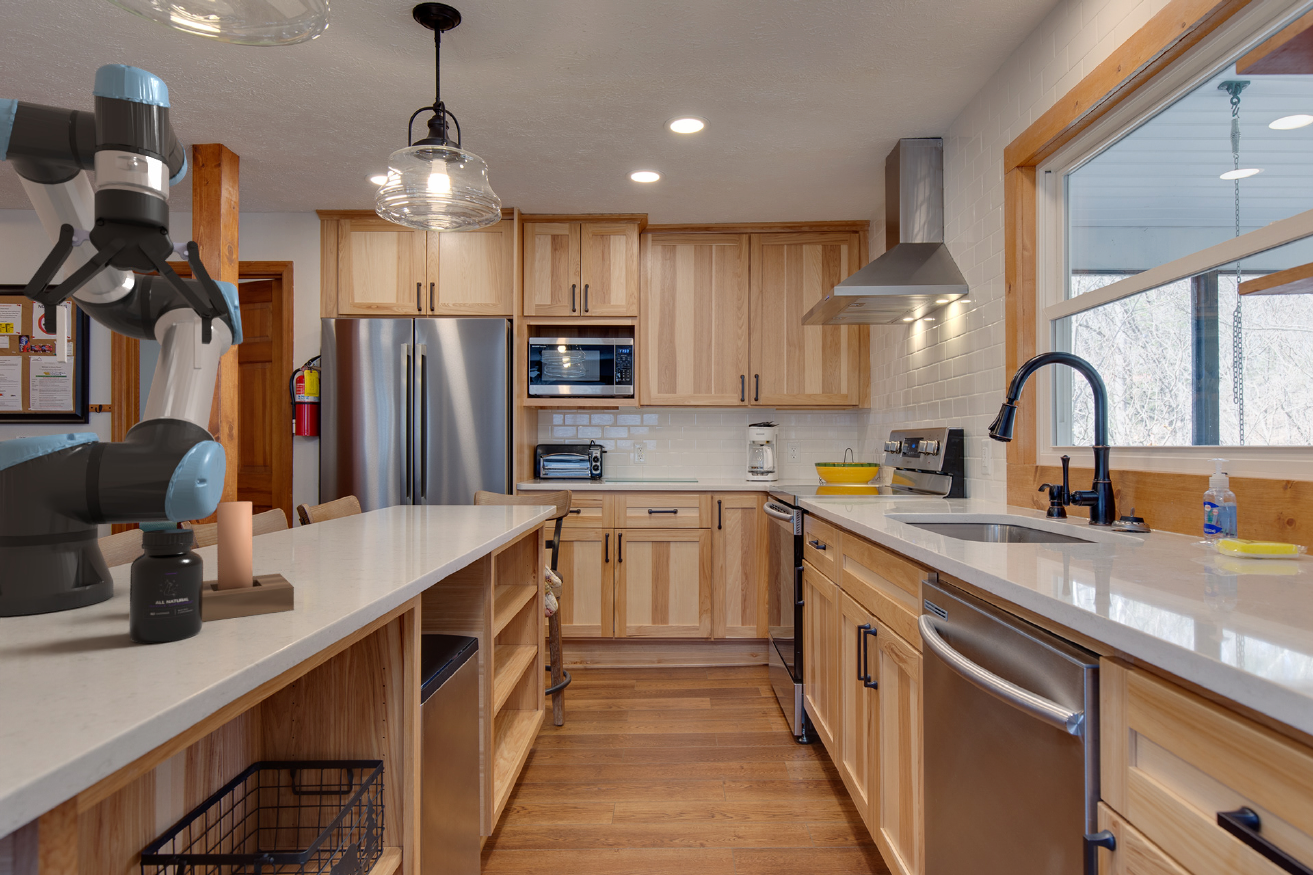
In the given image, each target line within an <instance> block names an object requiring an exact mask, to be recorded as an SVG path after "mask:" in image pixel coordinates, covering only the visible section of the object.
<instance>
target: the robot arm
mask: <svg viewBox="0 0 1313 875" xmlns="http://www.w3.org/2000/svg"><path fill="white" fill-rule="evenodd" d="M93 86H94V87H93V91H92V96H93V102H94V103H93V105H94V106H93V107H94V110H93V111H87V110H82V109H81V110H78V109H72V108H65V107H59V106H53V105H49V104H48V105H47V104H43V103H36V102H32V101H23V100H19V99H17V98H14V99H12V98H1V97H0V161H2V162H6V161H8V162H10V164H11V166H12V167H13V170H15V172H16V174H17V176H18V178H19V181H20V182H21V185H22V187H23V190H24V191H25V192H26V195H27V196H28V198H29V200H30V203H31V204H32V206H33V208H34V210H35V213H36V214H37V216H38V218H39V220H40V222H41V224H42V227H43V229H44V230H45V232H46V234H47V236H48V238H49V240H50V242H51V244H52V247H53V248H52V249H51V251H50V252H49V254H48V255H47V257H46V258H45V259H44V260H43V262H42V264H41V265H40V267H38V269H37V271H36V272H35V273H34V275H33V276H32V277H31V279H30V280H29V282H28V283H27V285H26V286H25V287H24V289H23V295H24V296H25V297H26V299H27V300H29V301H32V302H35V303H39V304H40V305H42V306H43V310H44V312H43V313H44V314H43V317H44V318H43V319H44V320H43V321H44V325H43V329H44V330H45V333H46V334H47V335H56V362H57V363H58V364H68V310H67V307H66V306H63V305H62V304H63V303H64V302H66V301H67V300H69V298H71V299H72V301H73V302H74V303H75V304H76V305H77V306H78V307H79V308H80V309H81V310H82V311H83V312H84V313H85V314H86V315H87V316H89V317H90V318H91V319H93V320H94V321H95V322H97V323H98V324H100V325H102V326H103V327H105V329H106V328H107V329H108V330H110V331H112V332H115V333H117V334H119V335H121V336H125V337H127V338H131V339H136V340H142V341H157V343H158V344H159V345H160V350H159V353H158V356H157V360H156V365H155V370H154V373H153V377H152V381H151V385H150V388H149V389H150V390H149V393H148V397H147V401H146V405H145V408H144V413H143V417H142V421H138V422H137V423H135V424H134V425H133V426H131V427H130V428H129V429H128V431H127V432H126V434H125V437H124V441H109V442H106V441H105V442H103V441H101V440H100V437H99V436H98V434H97V433H96V432H94V431H91V432H90V431H89V432H88V431H85V432H72V433H59V434H48V435H38V436H29V437H20V438H19V437H18V438H11V439H5V440H1V441H0V617H1V616H2V617H5V616H21V615H31V614H32V615H33V614H40V613H41V614H42V613H50V612H56V611H63V610H69V609H75V608H80V607H86V606H89V605H93V604H94V605H95V604H97V603H100V602H103V601H106V600H109V599H111V598H112V597H114V578H113V577H112V574H111V572H110V570H109V569H110V568H109V567H108V565H107V562H106V559H105V558H104V555H103V552H102V550H101V548H100V545H99V539H98V538H99V535H98V534H99V525H113V524H114V525H115V524H116V525H117V524H136V523H137V524H138V523H139V524H141V523H157V522H158V523H160V522H161V523H165V522H172V523H179V522H182V523H183V522H185V521H186V522H187V521H193V520H194V521H195V520H202V519H206V518H208V517H210V516H211V515H213V513H214V512H215V511H217V503H221V502H220V501H221V499H222V495H223V491H224V487H225V486H224V485H225V477H226V472H227V470H226V469H227V456H226V450H225V447H224V446H223V445H222V444H221V443H220V442H218V441H216V440H215V438H214V435H213V434H212V433H211V432H210V431H208V430H209V425H210V424H209V423H210V417H211V410H212V405H213V399H214V394H215V388H216V387H215V386H216V380H217V375H218V369H219V368H218V367H219V362H220V358H221V357H222V356H224V355H225V354H227V353H228V352H229V351H230V349H231V346H235V345H241V344H242V343H243V342H244V339H243V338H244V336H243V329H242V319H241V310H240V301H239V292H238V291H239V290H238V288H237V286H236V285H235V284H234V283H232V282H229V281H222V280H216V279H214V278H211V276H210V275H209V273H208V270H207V269H206V267H205V265H204V263H203V262H202V260H201V258H200V250H199V245H198V243H197V241H194V240H189V241H187V242H173V241H172V239H171V236H170V206H169V204H168V202H167V201H168V200H169V198H170V187H173V186H176V185H177V184H179V183H180V182H181V181H183V179H184V177H185V176H186V174H187V172H188V161H187V156H186V150H185V148H184V145H183V144H182V143H181V141H180V139H179V138H178V137H177V135H176V132H175V130H174V127H173V125H172V123H171V120H170V109H171V103H170V99H169V98H170V97H169V87H168V86H167V84H166V83H165V82H164V80H162V79H161V78H160V77H158V76H157V75H155V73H152V72H150V71H148V70H145V69H143V68H140V67H137V66H132V65H126V64H120V63H108V64H104V65H101V66H100V67H99V68H97V69H96V71H95V76H94V84H93ZM86 171H90V172H91V171H92V172H94V174H93V176H94V187H95V189H96V190H97V191H96V192H95V193H94V190H93V187H92V185H91V183H90V180H89V177H88V174H87V172H86ZM173 253H177V254H178V255H179V257H180V258H181V259H182V260H184V261H187V263H188V265H189V267H190V270H191V272H192V274H193V275H194V277H195V278H189V277H188V278H185V277H180V276H179V275H178V273H177V272H175V270H174V268H173V267H172V266H171V265H170V263H168V262H167V259H168V258H169V257H170V256H172V254H173ZM62 267H63V268H64V269H65V270H64V272H63V277H62V278H63V279H62V280H63V281H62V282H60V283H59V284H58V285H57V286H55V287H54V288H53V289H52V290H50V291H49V292H45V290H47V288H48V286H49V285H50V283H51V282H52V281H53V279H54V278H55V276H56V275H57V273H58V272H59V270H61V268H62ZM133 271H134V272H136V273H134V272H133ZM153 272H156V273H157V274H158V275H152V274H151V275H149V273H153ZM100 441H101V442H100Z"/></svg>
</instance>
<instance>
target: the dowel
mask: <svg viewBox="0 0 1313 875" xmlns="http://www.w3.org/2000/svg"><path fill="white" fill-rule="evenodd" d="M216 517H217V518H216V522H217V523H216V524H217V526H216V528H217V529H216V530H217V532H216V536H217V537H216V539H217V540H216V543H217V546H216V547H217V549H216V550H217V552H216V553H217V555H216V556H217V562H216V563H217V564H216V565H217V567H216V568H217V580H218V591H222V590H231V589H240V588H249V587H253V576H254V575H253V568H254V567H253V501H243V500H242V501H227V502H226V501H225V502H224V501H223V502H219V503H217V508H216Z"/></svg>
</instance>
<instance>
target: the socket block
mask: <svg viewBox="0 0 1313 875" xmlns="http://www.w3.org/2000/svg"><path fill="white" fill-rule="evenodd" d="M294 594H295V587H294V586H293V584H292V583H290V582H289V581H288V580H287V579H286V578H285V577H284V576H283V575H282V574H281V573H272V574H271V573H269V574H262V575H261V574H260V575H259V574H258V575H253V587H249V588H240V589H231V590H222V591H218V579H214V580H213V579H211V580H203V604H202V623H205V622H211V621H212V622H213V621H219V620H226V619H227V620H228V619H234V618H241V617H242V618H243V617H249V616H256V615H257V616H258V615H264V614H273V613H278V612H287V611H294V610H295V596H294Z"/></svg>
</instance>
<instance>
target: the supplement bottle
mask: <svg viewBox="0 0 1313 875" xmlns="http://www.w3.org/2000/svg"><path fill="white" fill-rule="evenodd" d="M194 536H195V535H194V529H191V528H190V529H188V528H171V529H170V528H167V529H155V530H154V529H153V530H147V531H143V532H142V543H141V549H143V550H144V553H143V554H141V555H140V556H138V557H136V558H135V559H134V560H133V561H132V562H131V565H130V577H129V578H130V579H129V580H130V583H129V584H130V585H129V586H130V587H129V588H130V589H129V590H130V591H129V637H130V640H131V641H133V642H134V643H139V644H159V643H167V642H175V641H176V642H177V641H180V640H185V639H188V638H192V637H194V636H196V635H197V634H199V633H200V632H201V630H202V627H203V622H202V604H203V581H204V560H203V558H202V556H201V555H200V554H199V553H197V552H195V551H193V550H192V547H194V546H195V541H194Z"/></svg>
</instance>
